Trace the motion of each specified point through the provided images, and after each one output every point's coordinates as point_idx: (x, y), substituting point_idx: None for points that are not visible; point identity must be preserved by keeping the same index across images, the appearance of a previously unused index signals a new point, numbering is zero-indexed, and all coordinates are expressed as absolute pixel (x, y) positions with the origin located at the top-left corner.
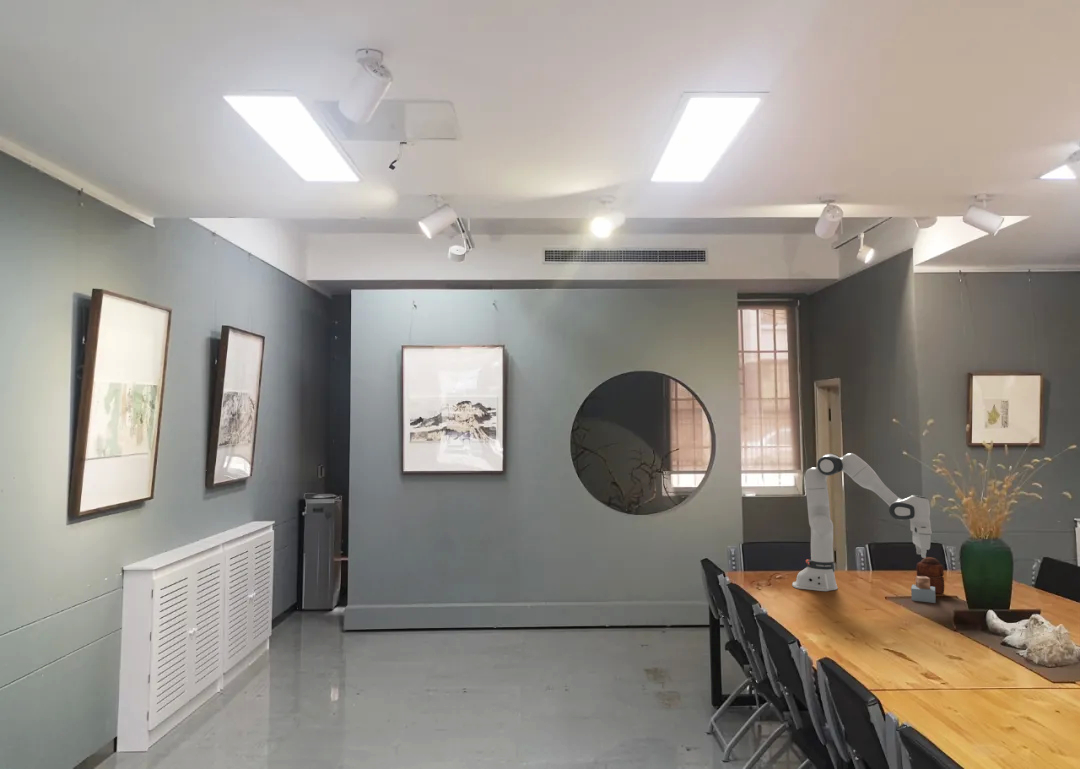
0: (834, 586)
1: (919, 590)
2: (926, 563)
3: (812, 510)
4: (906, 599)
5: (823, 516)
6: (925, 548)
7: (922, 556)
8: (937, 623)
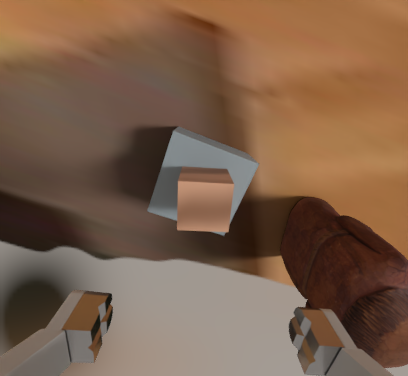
0: None
1: (164, 160)
2: (360, 300)
3: None
4: (187, 110)
5: None
6: None
7: (66, 303)
8: None
